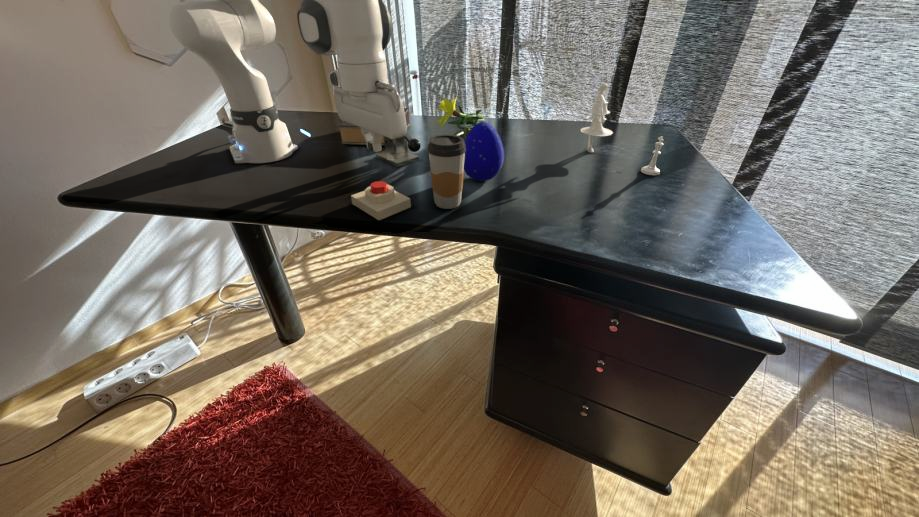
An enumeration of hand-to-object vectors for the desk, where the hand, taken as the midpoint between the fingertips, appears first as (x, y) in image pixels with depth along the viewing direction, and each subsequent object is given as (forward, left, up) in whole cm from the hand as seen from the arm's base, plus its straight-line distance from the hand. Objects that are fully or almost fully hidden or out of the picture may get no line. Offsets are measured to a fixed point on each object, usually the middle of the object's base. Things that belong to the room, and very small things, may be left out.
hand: (374, 150), depth 76 cm
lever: (-18, +21, -6) cm, 29 cm away
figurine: (+16, +70, -13) cm, 73 cm away
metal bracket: (-22, +21, -13) cm, 33 cm away
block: (0, 0, -13) cm, 13 cm away
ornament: (+6, +28, -13) cm, 32 cm away
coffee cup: (+10, +12, -13) cm, 20 cm away
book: (-45, +30, -13) cm, 56 cm away
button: (0, 0, -10) cm, 10 cm away
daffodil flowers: (-18, +47, -13) cm, 52 cm away
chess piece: (+36, +66, -13) cm, 76 cm away
